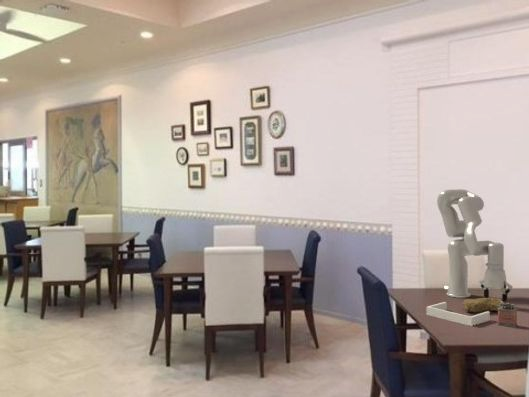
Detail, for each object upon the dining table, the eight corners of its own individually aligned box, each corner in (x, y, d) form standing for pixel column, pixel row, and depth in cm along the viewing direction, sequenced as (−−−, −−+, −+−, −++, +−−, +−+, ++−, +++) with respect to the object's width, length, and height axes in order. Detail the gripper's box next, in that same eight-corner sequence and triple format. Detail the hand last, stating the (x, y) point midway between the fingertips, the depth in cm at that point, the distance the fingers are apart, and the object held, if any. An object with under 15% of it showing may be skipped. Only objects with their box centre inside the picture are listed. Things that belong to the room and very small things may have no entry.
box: (426, 314, 249) (426, 306, 249) (444, 309, 258) (444, 301, 258) (471, 326, 230) (471, 317, 229) (489, 320, 238) (489, 311, 238)
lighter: (516, 324, 231) (516, 302, 230) (517, 326, 228) (517, 304, 227) (497, 323, 233) (497, 301, 233) (497, 325, 230) (498, 303, 230)
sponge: (498, 310, 260) (458, 301, 263) (502, 296, 257) (462, 287, 261) (504, 322, 247) (462, 312, 250) (509, 308, 245) (466, 298, 248)
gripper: (475, 265, 267) (475, 297, 268) (508, 270, 253) (507, 304, 254) (483, 263, 272) (483, 295, 272) (515, 268, 258) (515, 301, 259)
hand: (495, 299), depth 263 cm, fingers open, 9 cm apart
